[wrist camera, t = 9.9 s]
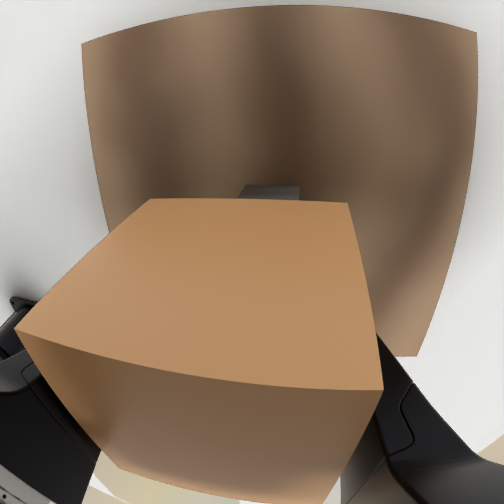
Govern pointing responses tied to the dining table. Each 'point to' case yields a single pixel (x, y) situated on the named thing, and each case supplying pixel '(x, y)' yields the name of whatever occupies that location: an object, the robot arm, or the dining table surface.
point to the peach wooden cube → (218, 346)
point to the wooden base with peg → (299, 130)
